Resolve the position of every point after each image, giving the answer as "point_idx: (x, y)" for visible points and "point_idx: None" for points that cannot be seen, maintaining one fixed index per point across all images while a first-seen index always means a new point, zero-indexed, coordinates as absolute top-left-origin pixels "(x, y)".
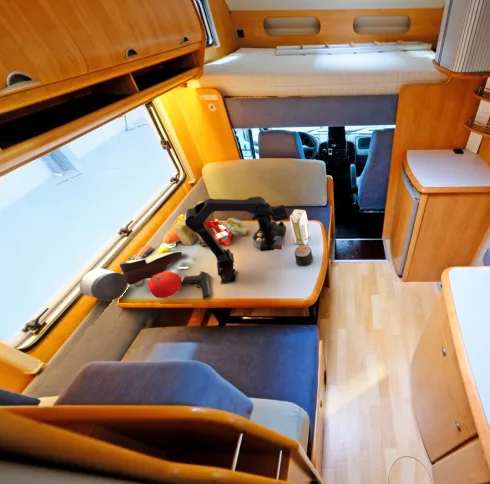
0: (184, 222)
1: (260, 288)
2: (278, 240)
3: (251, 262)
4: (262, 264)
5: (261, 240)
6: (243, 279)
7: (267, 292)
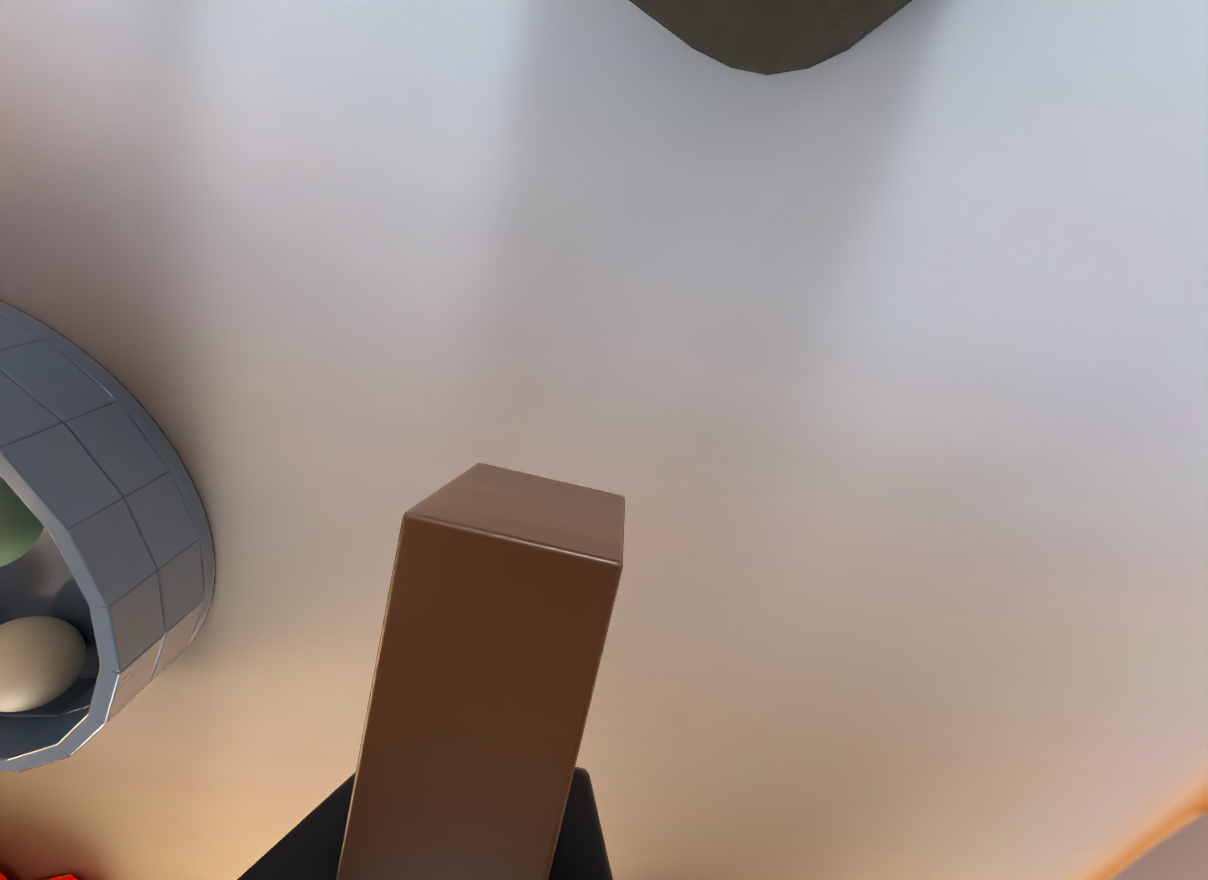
0: None
1: (1031, 754)
2: (9, 361)
3: None
4: None
5: (21, 632)
6: (740, 868)
7: (1184, 697)
